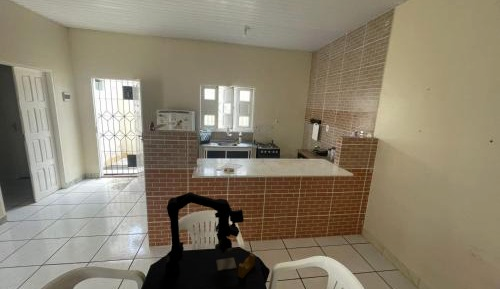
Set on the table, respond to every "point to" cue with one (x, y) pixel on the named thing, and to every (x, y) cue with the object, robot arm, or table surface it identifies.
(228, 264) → the trivet
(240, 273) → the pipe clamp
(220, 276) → the table surface
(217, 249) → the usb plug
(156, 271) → the table surface
